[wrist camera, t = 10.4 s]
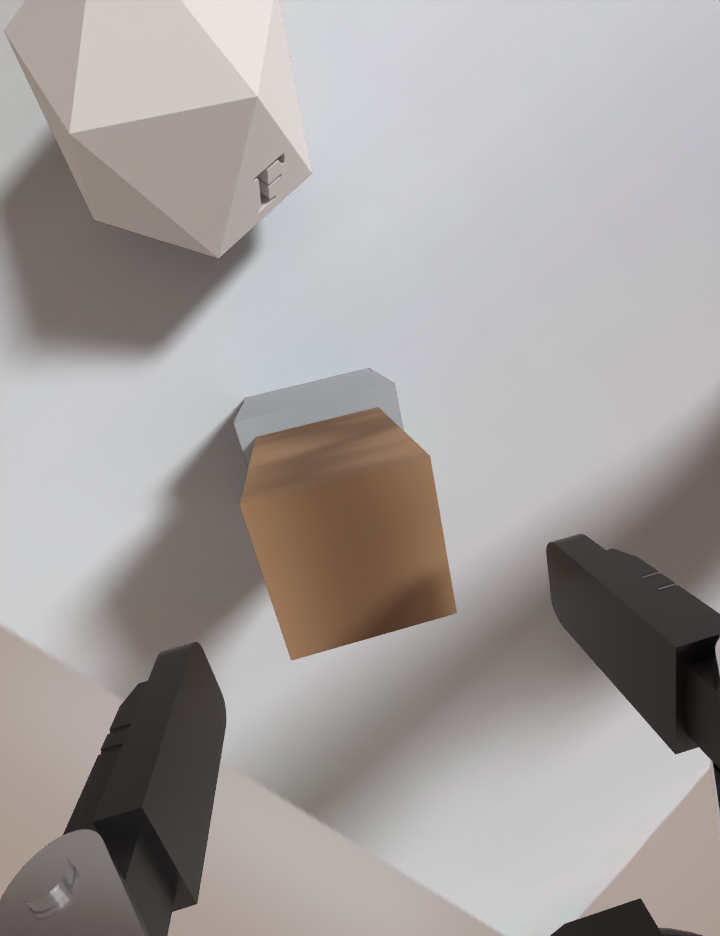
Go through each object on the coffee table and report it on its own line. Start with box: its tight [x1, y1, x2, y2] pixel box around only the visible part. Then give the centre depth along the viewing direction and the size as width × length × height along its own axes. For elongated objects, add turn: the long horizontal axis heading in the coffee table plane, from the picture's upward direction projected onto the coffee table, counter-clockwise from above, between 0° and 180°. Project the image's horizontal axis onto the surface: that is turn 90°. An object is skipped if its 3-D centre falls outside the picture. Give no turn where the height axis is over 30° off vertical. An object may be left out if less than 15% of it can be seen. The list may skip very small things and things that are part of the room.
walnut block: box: [240, 407, 457, 660], centre depth 16 cm, size 5×5×7 cm
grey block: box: [233, 368, 404, 468], centre depth 22 cm, size 6×6×6 cm
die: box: [4, 0, 312, 258], centre depth 16 cm, size 8×9×10 cm
